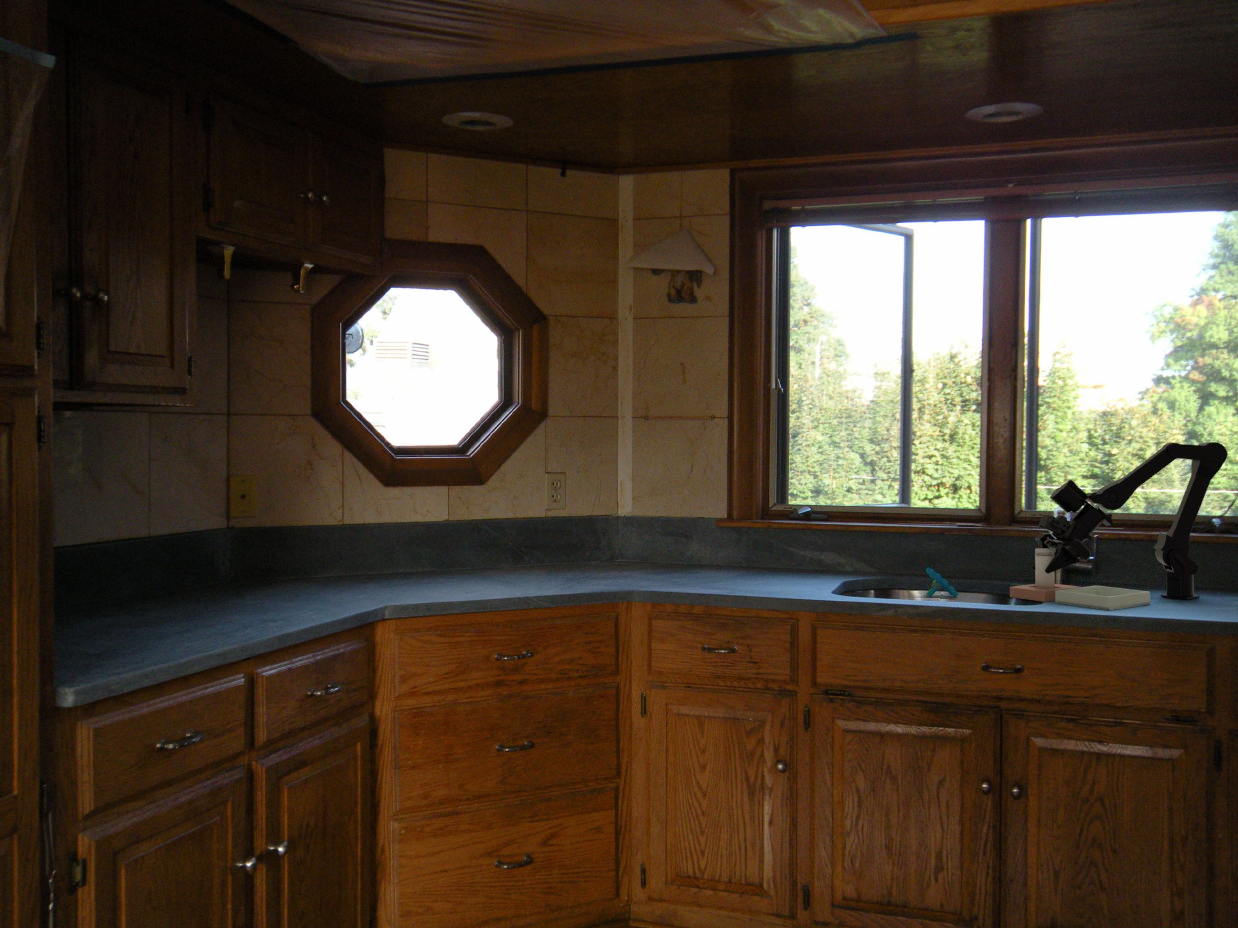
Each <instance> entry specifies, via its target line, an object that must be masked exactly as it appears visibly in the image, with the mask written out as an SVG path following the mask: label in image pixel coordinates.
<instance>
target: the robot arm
mask: <svg viewBox="0 0 1238 928" xmlns="http://www.w3.org/2000/svg"><path fill="white" fill-rule="evenodd" d="M1228 453H1229V452H1228V450H1227V449H1226V447H1225V445H1223V444H1222V443H1220V442H1217V441H1206V442H1201V443H1199V444H1185V443H1183V444H1182V443H1178V442H1167V443H1165V444H1164V445H1162V447H1161V448H1160V449H1158V450H1157V451H1156V452H1155V453H1153V454H1152V455H1151V456H1150V457H1148V458H1147V459H1146V460H1144V461H1143V462H1142V463H1140V464H1139V465H1137V466H1136V467H1135V468H1134V469H1132V470H1131V471H1130V472H1129V473H1127V474H1126V475H1124V476H1123V477H1120V478H1119V479H1117V480H1114V481H1112V482H1110V483H1107V484H1106V485H1104V486H1102V487H1100V488H1099V489H1098V490H1097V491H1094V492H1087V493H1086V492H1084V490H1082V488H1080V487H1079V486H1078V485H1077V483H1076V482H1075V481H1074V480H1073V479H1068V480H1067V481H1066V482H1065V483H1062V485H1060V486H1059V487H1057V488H1056V489H1055V490H1054V491H1053V493H1051V495H1050V496H1049V499H1050V500H1051V501H1053V502H1054V503H1055V504H1056V505H1057V506H1058V507H1059V508H1060V509H1062V510H1063V511H1064V512H1065V513H1066V514H1069V513H1073V514H1075V513H1076V514H1075V515H1074V516H1073V517H1072V518H1071V520H1068V517H1066V516H1064V515H1061V514H1058V515H1057V516H1053V515H1048V514H1043V515H1042V517H1041V519H1040V522H1039V524H1038V527H1039V528H1042V529H1045V530H1047V531H1050V532H1051V533H1047V532H1039V533H1038V534H1037V535H1036V536H1035V538H1034V540H1035V541H1036V542H1037V544H1038V546H1039V547H1038V548H1048V549H1054V558H1053V559H1052V561H1051V562H1050V563H1049V565H1048V566H1047V567H1046V569H1045V572H1046V573H1047V574H1049V573H1051V572H1054V573H1055V572H1056V571H1059V570H1060V569H1064V568H1066V567H1068V566H1071V565H1074V564H1077V563H1078V564H1079V563H1080V562H1085V563H1086V562H1087V561H1088V560H1089V559H1090V558H1091V557H1092V551H1091V549H1089V548H1088V546H1087V545H1085V543H1084V542H1085V541H1090V540H1091V539H1092V538H1093V537H1092V536H1091V535H1092V534H1093V533H1094V532H1095V531H1096V530H1097V528H1098V527H1099V526H1100V525H1101V524H1104V525H1105V526H1107V527H1108V526H1112V525H1113V524H1114V521H1113V514H1111V513H1109V514H1108V513H1106V512H1104V511H1103V510H1108V511H1116V510H1117V511H1118V510H1119V509H1120V508H1122V507H1123V506H1124V505H1125V504H1126V503H1127V502H1128V501H1129V500H1130V499H1131V498H1132V496H1133V494H1134V493H1135V492H1136V490H1138V489H1139V488H1140V487H1141V486H1142V485H1144V484H1145V483H1146V482H1148V481H1149V480H1150V479H1152V478H1153V477H1154V476H1155V475H1157V474H1158V473H1159V472H1161V471H1162V470H1164V469H1165V468H1166V467H1167V466H1168V465H1170V464H1171V463H1173V462H1174V461H1175V460H1176V459H1177V460H1178V459H1179V460H1189V461H1190V460H1191V464H1190V465H1191V475H1190V478H1189V481H1188V482H1187V485H1186V488H1185V491H1184V494H1183V496H1182V498H1181V500H1180V504H1179V507H1178V509H1177V512H1176V513H1175V517H1174V520H1173V522H1172V525H1171V527H1170V528H1169V530H1168V531H1167V532H1166V533H1162V532H1159V534H1158V538H1157V542H1156V543H1155V545H1154V546H1153V548H1154V549H1155V552H1154V555H1155V558H1156V559H1157V561H1158V562H1159V563H1161V564H1162V566H1163V568H1164V570H1165V571H1167V572H1166V593H1163V594H1160V597H1162V598H1170V599H1178V600H1191V599H1198V598H1201V596H1200V594H1199V595H1198V594H1195V592H1194V591H1195V578H1194V577H1195V576H1194V575H1197V572H1198V570H1199V565H1197V564H1196V563H1195V562H1194V561H1193V560H1192V559H1190V557H1189V555H1190V554H1189V552H1190V548H1191V533H1192V530H1193V527H1194V525H1195V522H1196V520H1197V517H1198V515H1199V512H1200V509H1201V507H1202V504H1203V501H1204V500H1205V497H1206V494H1207V490H1208V488H1209V486H1210V484H1211V481H1212V479H1213V478H1214V477H1215V476H1216V474H1218V472H1219V471H1220V470H1221V469H1222V466H1223V465H1224V464H1225V462H1226V460H1227V459H1228ZM1091 503H1092V504H1097V505H1098V506H1094V505H1092V504H1091ZM1102 509H1103V510H1102ZM1031 569H1032V570H1033V571H1035V560H1034V562H1033V563H1032V566H1031Z"/></svg>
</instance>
